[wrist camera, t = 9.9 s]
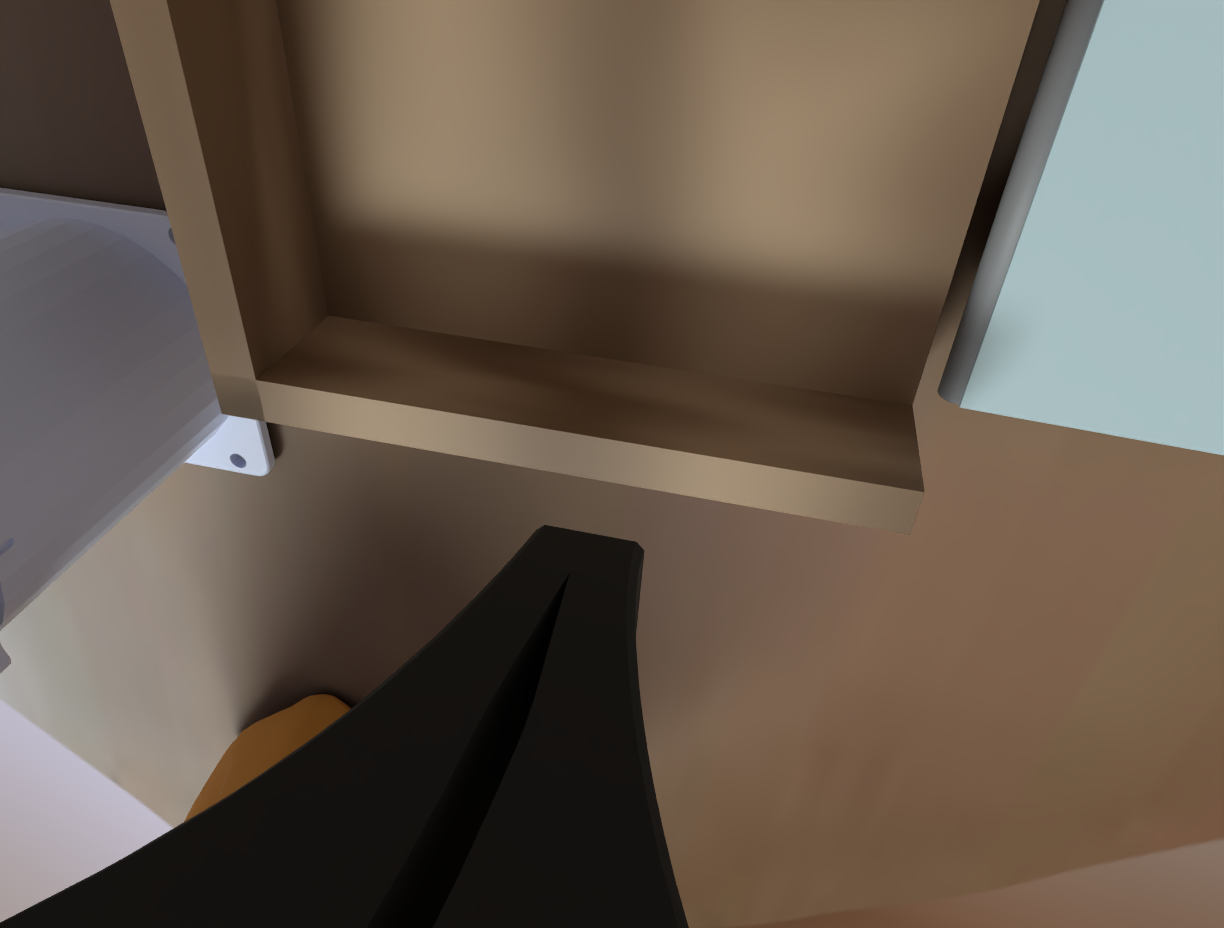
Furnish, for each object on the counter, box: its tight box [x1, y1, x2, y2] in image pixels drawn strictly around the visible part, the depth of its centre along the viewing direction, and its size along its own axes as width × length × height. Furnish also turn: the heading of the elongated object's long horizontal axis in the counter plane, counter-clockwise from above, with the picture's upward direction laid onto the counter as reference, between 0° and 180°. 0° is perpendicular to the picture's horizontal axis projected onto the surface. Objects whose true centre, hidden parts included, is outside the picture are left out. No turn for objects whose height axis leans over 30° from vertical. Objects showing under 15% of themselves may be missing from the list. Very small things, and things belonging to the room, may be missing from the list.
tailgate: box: [938, 0, 1224, 455], centre depth 14 cm, size 1×9×6 cm
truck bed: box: [110, 0, 1040, 535], centre depth 15 cm, size 14×12×6 cm
